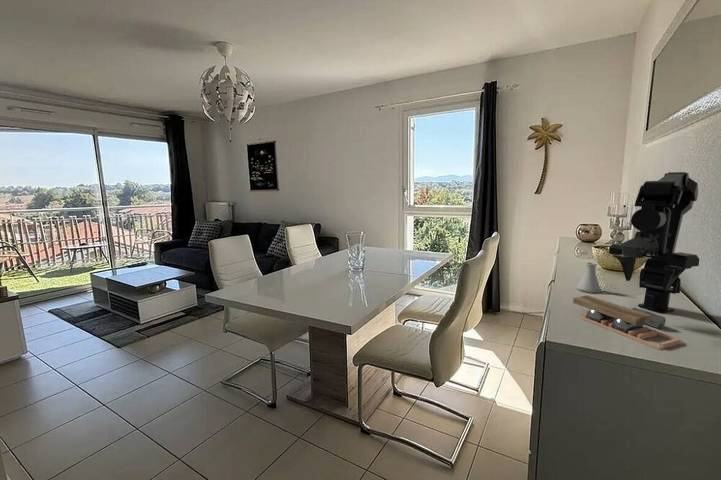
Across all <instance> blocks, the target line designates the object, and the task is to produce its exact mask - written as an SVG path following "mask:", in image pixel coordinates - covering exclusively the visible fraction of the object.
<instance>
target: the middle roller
mask: <svg viewBox="0 0 721 480" xmlns="http://www.w3.org/2000/svg"><path fill="white" fill-rule="evenodd" d="M644 325H645V324H644V323H642V324H637V325H634V324H631V323H628V322H626V321H623V320H620V319H616V320H614V321H613V322H612V327H613V329H616V330H619V331H621V332H624V333H628V331H631V330H635V329H639V328H642V327H644Z"/></svg>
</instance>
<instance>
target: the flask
mask: <svg viewBox="0 0 721 480" xmlns="http://www.w3.org/2000/svg"><path fill="white" fill-rule="evenodd" d="M585 265H586V267H585V268H586V269H585V271H584V274H583V276H582V277H581V279H580V281H579V283H578V285H577V286H576V290H579V291H581V292H584V293H589V294H594V293H600V292H601V291H602V290H601V286H600V283H599V280H598V276H597V273H596V272H597V271H596V267H597V265H598V264H597V263H595V262H586V263H585Z"/></svg>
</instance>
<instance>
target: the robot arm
mask: <svg viewBox="0 0 721 480" xmlns="http://www.w3.org/2000/svg"><path fill="white" fill-rule="evenodd" d="M698 185H699V184H698V182H696V181H695V180H693V179H692V178H690V176H689V172H685V171H680V172H678V171H677V172H670V171H669V172H667V173H664V176H662V178H660V179H658V180H648V181H647V180H646V181H645V182H643V184H641V185H640V187H639V190H638V194H637V196H636V199H635V202H634V207H638V208H639V207H641V209H638V210H636V211H635V212H634V213H633V214H632V216H631V218H630V222H631V225H632V226H633V228H634V229H636V230H637V231H636V233H635V234H634V237H633V238H631V239H628V240H626V241H624V242H622V243H612V244H611V245H610V246H609V247H608V254H610V255H611V254H612V257H613V258H615V259H616V260H618V262H619V263H620V265H621V268H622V271H623V274H624V278H625V281H626V282H630V281H631V279H632V277H633V274H634V268H635V266H636V261H637V259H643V258H644V257H645V258H647V259H646V260H645V263H644V266H643V268H641V269H640V273H639V283H638V284H639V288H643V289H645V292H644V293H645V294H644V299H643V302H642V303H639V304H637V306H638V307H640V308H643V309H647V310H649V311H652V312H657V313H661V314H662V313H663V314H664V313H668V312H672V311H675V308H673V307H671V306H669V305H670V299H671V294H672V295H676V294H680V293H681V287H682V285H681V284H682V282H681V281H682V280H681V278H680V275H682V274H683V273H684V272H685V271H686V270H688V269H692V267H694V268H695V267H699V265H700V258H699V256H698V255H697V254H694V253H689V252H679V251H678V252H676V251H675V250H676V247H677V242H678V238H679V233H680V230H681V226H682V221H683V217H684V215H685V214H687V213H688V212H690V211H691V210H692V209H693V205H694V202H697V200H698V197H699V186H698Z"/></svg>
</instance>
